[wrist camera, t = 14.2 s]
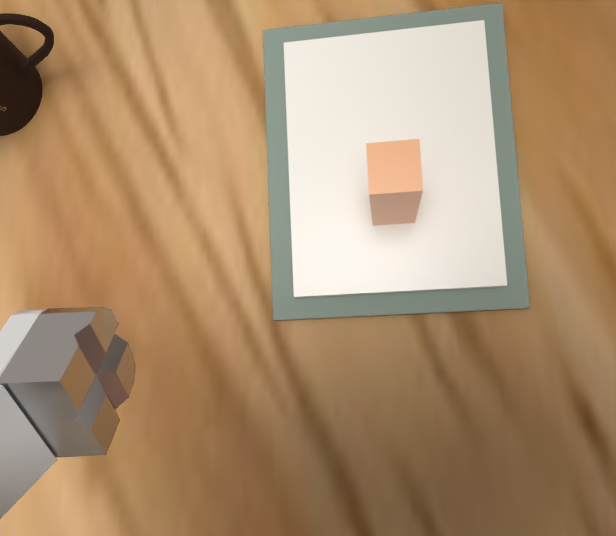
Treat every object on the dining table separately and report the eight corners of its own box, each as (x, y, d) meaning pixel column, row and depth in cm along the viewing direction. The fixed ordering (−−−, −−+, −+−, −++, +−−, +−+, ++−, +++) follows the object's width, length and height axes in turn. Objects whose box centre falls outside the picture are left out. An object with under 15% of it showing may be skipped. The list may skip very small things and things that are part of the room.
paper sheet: (286, 50, 39) (256, -35, 30) (481, 28, 37) (511, -68, 28) (296, 297, 37) (267, 286, 28) (503, 286, 35) (543, 270, 26)
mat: (264, 34, 40) (262, 30, 39) (500, 7, 38) (502, 2, 37) (274, 320, 37) (273, 320, 37) (527, 308, 35) (529, 307, 35)
